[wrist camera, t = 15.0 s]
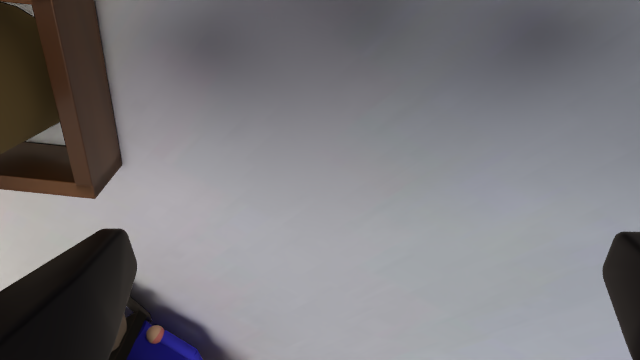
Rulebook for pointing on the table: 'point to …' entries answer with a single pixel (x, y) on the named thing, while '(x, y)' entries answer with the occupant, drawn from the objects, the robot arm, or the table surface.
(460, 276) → the table surface
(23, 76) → the cork
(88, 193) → the frame
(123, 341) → the figurine character
